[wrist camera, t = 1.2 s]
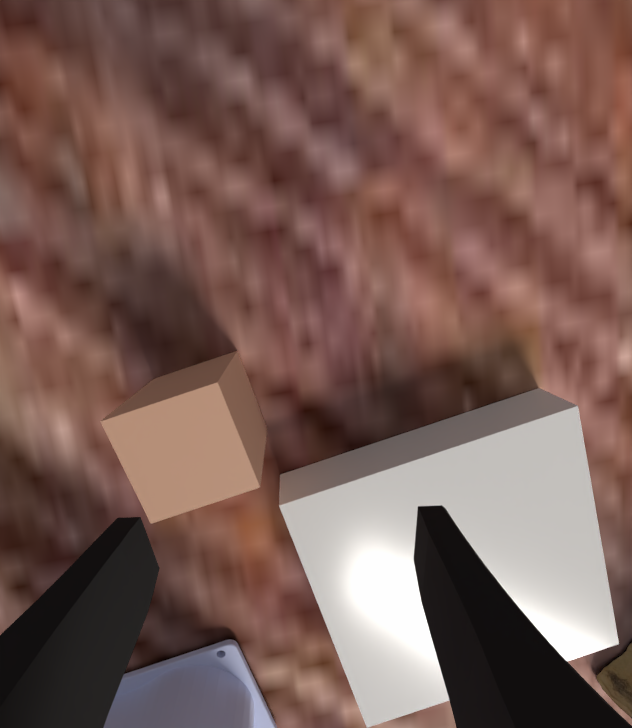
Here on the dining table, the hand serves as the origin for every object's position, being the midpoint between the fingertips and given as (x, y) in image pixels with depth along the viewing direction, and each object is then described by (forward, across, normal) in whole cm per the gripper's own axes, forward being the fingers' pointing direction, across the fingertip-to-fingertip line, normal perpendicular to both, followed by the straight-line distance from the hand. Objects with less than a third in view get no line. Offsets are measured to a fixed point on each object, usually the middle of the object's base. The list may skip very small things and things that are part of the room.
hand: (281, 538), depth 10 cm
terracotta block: (+10, +5, +2) cm, 12 cm away
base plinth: (+9, -8, +12) cm, 17 cm away
